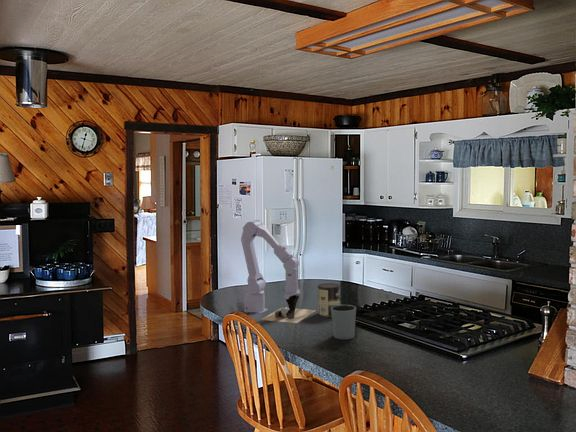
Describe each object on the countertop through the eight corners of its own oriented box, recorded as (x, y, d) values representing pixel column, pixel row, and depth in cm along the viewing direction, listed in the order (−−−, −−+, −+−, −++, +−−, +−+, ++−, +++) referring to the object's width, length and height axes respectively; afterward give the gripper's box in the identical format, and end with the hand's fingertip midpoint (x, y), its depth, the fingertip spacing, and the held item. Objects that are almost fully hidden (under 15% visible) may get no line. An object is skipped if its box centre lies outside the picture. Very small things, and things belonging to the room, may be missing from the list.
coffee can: (341, 312, 272) (340, 283, 271) (338, 318, 262) (338, 287, 261) (319, 311, 274) (319, 282, 273) (316, 317, 264) (316, 287, 263)
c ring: (280, 314, 269) (280, 309, 269) (297, 315, 266) (297, 310, 265) (274, 317, 263) (274, 312, 263) (292, 319, 260) (292, 314, 259)
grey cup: (358, 333, 237) (358, 305, 236) (353, 341, 227) (352, 311, 226) (334, 332, 240) (334, 303, 239) (328, 339, 231) (328, 309, 230)
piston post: (280, 318, 262) (279, 308, 262) (282, 316, 265) (282, 306, 265) (286, 318, 261) (286, 308, 260) (289, 316, 264) (289, 307, 263)
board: (260, 320, 260) (260, 319, 260) (282, 308, 282) (281, 307, 282) (296, 324, 253) (296, 323, 253) (316, 311, 275) (316, 310, 275)
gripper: (293, 286, 262) (293, 315, 263) (305, 280, 275) (305, 308, 276) (279, 285, 264) (280, 314, 266) (291, 279, 278) (292, 307, 279)
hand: (292, 311), depth 271 cm, fingers closed
